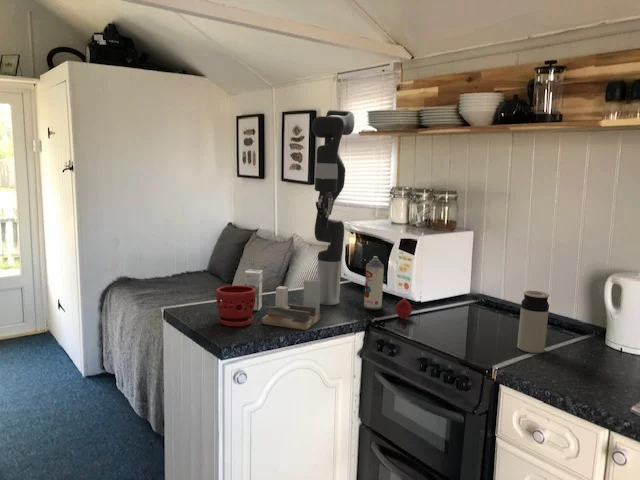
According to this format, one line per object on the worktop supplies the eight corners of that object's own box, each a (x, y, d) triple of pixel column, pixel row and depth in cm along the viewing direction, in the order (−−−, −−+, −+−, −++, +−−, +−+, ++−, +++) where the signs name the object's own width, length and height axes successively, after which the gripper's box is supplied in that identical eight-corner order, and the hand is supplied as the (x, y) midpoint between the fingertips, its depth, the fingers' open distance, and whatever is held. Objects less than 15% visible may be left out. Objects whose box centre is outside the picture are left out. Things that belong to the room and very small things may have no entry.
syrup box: (261, 307, 204) (262, 269, 202) (258, 311, 198) (259, 272, 196) (247, 306, 204) (247, 268, 202) (243, 310, 198) (244, 271, 196)
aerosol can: (361, 305, 213) (364, 255, 210) (377, 304, 215) (380, 254, 212) (368, 309, 206) (370, 258, 203) (384, 308, 208) (387, 258, 205)
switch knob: (277, 311, 191) (278, 285, 190) (290, 313, 190) (291, 287, 188) (272, 314, 187) (272, 288, 186) (285, 316, 186) (286, 289, 184)
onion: (407, 322, 192) (408, 300, 191) (392, 319, 195) (393, 297, 194) (413, 318, 197) (414, 297, 195) (398, 315, 200) (400, 294, 198)
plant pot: (261, 320, 187) (262, 287, 185) (241, 331, 175) (242, 295, 173) (230, 315, 192) (230, 282, 190) (208, 324, 180) (208, 289, 178)
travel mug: (516, 351, 166) (522, 294, 164) (517, 343, 174) (522, 289, 171) (544, 355, 163) (550, 297, 161) (543, 347, 171) (549, 292, 168)
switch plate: (278, 313, 197) (279, 299, 196) (320, 319, 191) (320, 305, 191) (262, 323, 183) (262, 309, 183) (305, 330, 178) (306, 315, 178)
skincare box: (319, 310, 202) (320, 279, 200) (319, 314, 198) (320, 281, 196) (303, 310, 202) (304, 278, 200) (302, 313, 198) (303, 281, 196)
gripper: (322, 176, 188) (320, 225, 191) (308, 176, 176) (307, 229, 178) (342, 177, 186) (340, 227, 188) (330, 178, 173) (328, 231, 176)
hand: (324, 228), depth 183 cm, fingers closed
